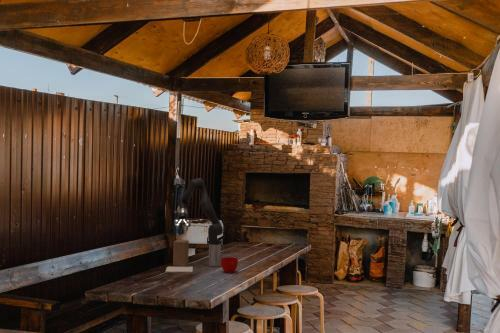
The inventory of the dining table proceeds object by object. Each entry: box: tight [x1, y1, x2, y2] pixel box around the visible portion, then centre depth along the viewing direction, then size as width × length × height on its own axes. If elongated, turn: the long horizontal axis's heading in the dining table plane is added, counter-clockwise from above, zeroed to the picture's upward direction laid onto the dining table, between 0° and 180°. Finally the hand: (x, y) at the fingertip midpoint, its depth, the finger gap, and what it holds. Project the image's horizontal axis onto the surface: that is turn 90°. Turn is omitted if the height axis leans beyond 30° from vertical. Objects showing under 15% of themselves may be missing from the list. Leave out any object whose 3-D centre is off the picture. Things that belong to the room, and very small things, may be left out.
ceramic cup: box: [220, 256, 239, 274], centre depth 384 cm, size 13×17×10 cm
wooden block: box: [172, 239, 190, 267], centre depth 407 cm, size 10×10×20 cm
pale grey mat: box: [165, 266, 194, 273], centre depth 391 cm, size 20×19×1 cm
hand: (182, 229), depth 425 cm, fingers open, 7 cm apart
